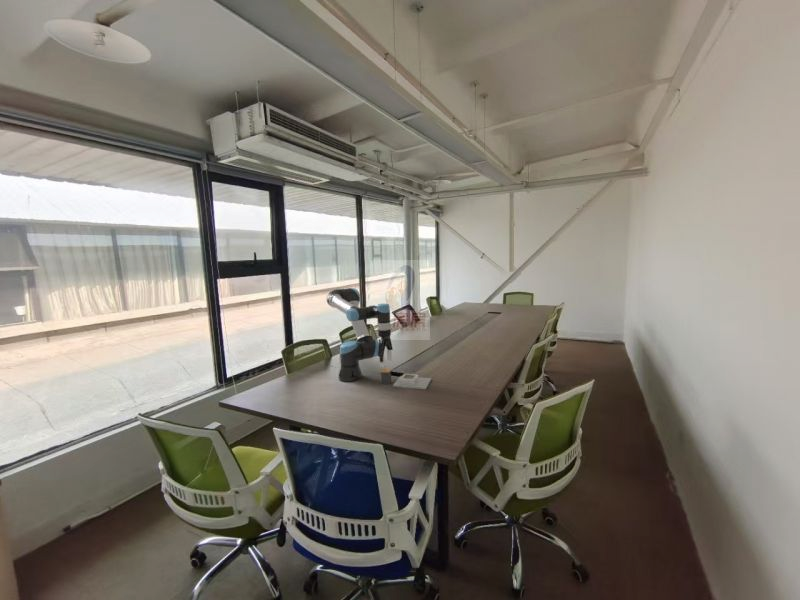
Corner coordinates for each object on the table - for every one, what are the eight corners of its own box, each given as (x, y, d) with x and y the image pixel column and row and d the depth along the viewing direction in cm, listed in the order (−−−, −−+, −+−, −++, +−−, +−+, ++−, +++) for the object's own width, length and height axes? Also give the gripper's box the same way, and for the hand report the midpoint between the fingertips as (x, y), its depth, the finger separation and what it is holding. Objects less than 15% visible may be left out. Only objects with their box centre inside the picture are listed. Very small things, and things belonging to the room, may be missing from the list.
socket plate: (392, 386, 199) (392, 380, 198) (400, 377, 214) (400, 371, 213) (425, 389, 193) (425, 382, 192) (431, 379, 208) (431, 373, 208)
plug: (381, 383, 205) (381, 370, 204) (383, 381, 209) (383, 368, 208) (389, 384, 203) (388, 371, 202) (391, 381, 207) (390, 369, 206)
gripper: (383, 333, 189) (385, 370, 191) (396, 325, 213) (397, 358, 215) (371, 333, 191) (372, 369, 194) (385, 325, 215) (386, 357, 217)
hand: (386, 363), depth 204 cm, fingers open, 13 cm apart
